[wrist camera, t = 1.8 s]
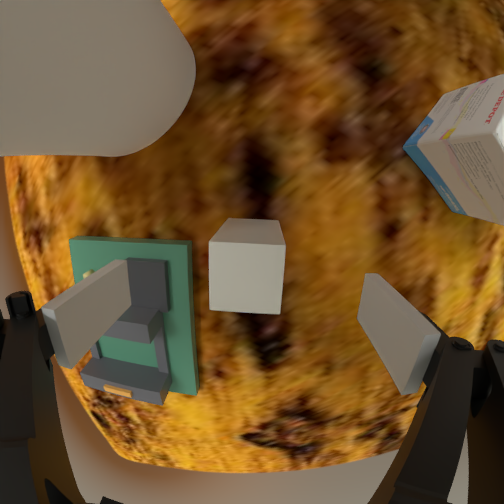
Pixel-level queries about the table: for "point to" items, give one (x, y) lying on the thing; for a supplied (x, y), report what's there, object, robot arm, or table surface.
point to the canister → (90, 76)
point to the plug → (247, 266)
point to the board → (173, 318)
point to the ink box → (465, 149)
